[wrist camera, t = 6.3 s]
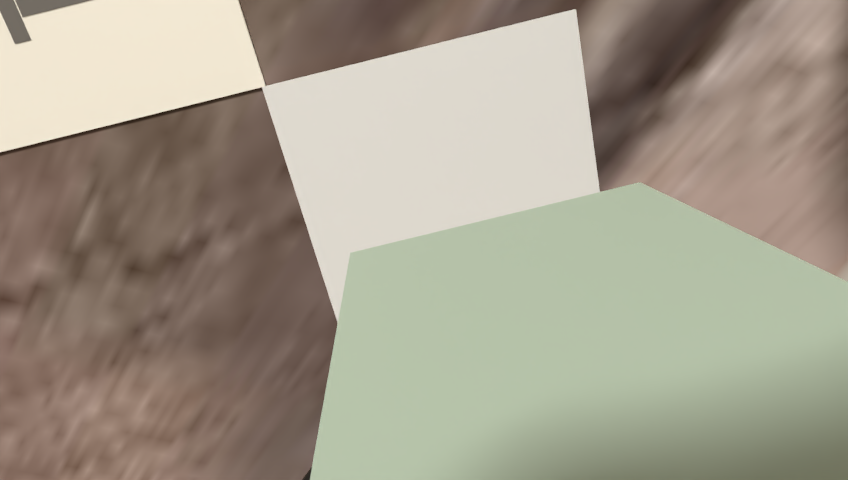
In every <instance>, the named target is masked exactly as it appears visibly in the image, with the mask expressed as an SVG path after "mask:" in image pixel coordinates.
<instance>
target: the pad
mask: <svg viewBox="0 0 848 480" xmlns="http://www.w3.org/2000/svg"><path fill="white" fill-rule="evenodd" d="M262 89H263V92H264V95H265V98H266V102H267V105H268V108H269V111H270V114H271V117H272V120H273V123H274V126H275V130H276V133H277V136H278V139H279V142H280V145H281V148H282V151H283V154H284V158H285V161H286V164H287V167H288V170H289V173H290V176H291V179H292V182H293V185H294V189H295V192H296V195H297V198H298V201H299V204H300V207H301V210H302V213H303V217H304V220H305V223H306V226H307V229H308V232H309V235H310V238H311V241H312V245H313V248H314V251H315V254H316V257H317V260H318V263H319V266H320V269H321V273H322V276H323V279H324V282H325V285H326V288H327V291H328V294H329V297H330V300H331V304H332V307H333V310H334V313H335V316H336V319H337V322H338V319H339V313H340V308H341V302H342V297H343V291H344V285H345V280H346V274H347V269H348V263H349V257H350V253H352V252H356V251H360V250H364V249H368V248H372V247H376V246H380V245H384V244H389V243H393V242H397V241H401V240H405V239H409V238H413V237H417V236H421V235H426V234H430V233H434V232H438V231H442V230H446V229H450V228H454V227H458V226H463V225H467V224H471V223H475V222H479V221H483V220H487V219H491V218H495V217H500V216H504V215H508V214H512V213H516V212H520V211H524V210H528V209H532V208H537V207H541V206H545V205H549V204H553V203H557V202H561V201H565V200H569V199H574V198H578V197H582V196H586V195H590V194H594V193H598V192H600V190H599V182H598V175H597V167H596V159H595V152H594V144H593V137H592V129H591V121H590V114H589V106H588V98H587V91H586V83H585V75H584V68H583V60H582V52H581V45H580V37H579V29H578V22H577V14H576V9H574V10H570V11H566V12H562V13H558V14H554V15H550V16H546V17H542V18H538V19H534V20H530V21H526V22H522V23H518V24H514V25H510V26H506V27H502V28H497V29H493V30H489V31H485V32H481V33H477V34H473V35H469V36H465V37H461V38H457V39H453V40H449V41H445V42H441V43H437V44H433V45H429V46H425V47H421V48H417V49H413V50H409V51H405V52H401V53H397V54H393V55H389V56H385V57H381V58H377V59H373V60H369V61H365V62H361V63H357V64H353V65H349V66H345V67H341V68H337V69H333V70H329V71H325V72H321V73H317V74H313V75H308V76H304V77H300V78H296V79H292V80H288V81H284V82H280V83H276V84H272V85H268V86H264V87H262Z"/></svg>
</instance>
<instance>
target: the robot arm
mask: <svg viewBox="0 0 848 480" xmlns="http://www.w3.org/2000/svg"><path fill="white" fill-rule="evenodd" d="M311 470H312V467H311V469H310V470H309V471H308V473H307V474H306V475H305V477H304V478H303V479H302V480H310V476H311Z"/></svg>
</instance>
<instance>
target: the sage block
mask: <svg viewBox="0 0 848 480" xmlns="http://www.w3.org/2000/svg"><path fill="white" fill-rule="evenodd" d="M310 480H848V282H847V281H845V280H843V279H841V278H839V277H837V276H835V275H832V274H830V273H828V272H826V271H824V270H822V269H820V268H818V267H816V266H814V265H812V264H810V263H807V262H805V261H803V260H801V259H799V258H797V257H795V256H793V255H791V254H789V253H787V252H784V251H782V250H780V249H778V248H776V247H774V246H772V245H770V244H768V243H766V242H764V241H761V240H759V239H757V238H755V237H753V236H751V235H749V234H747V233H745V232H743V231H741V230H738V229H736V228H734V227H732V226H730V225H728V224H726V223H724V222H722V221H720V220H718V219H716V218H713V217H711V216H709V215H707V214H705V213H703V212H701V211H699V210H697V209H695V208H693V207H690V206H688V205H686V204H684V203H682V202H680V201H678V200H676V199H674V198H672V197H670V196H667V195H665V194H663V193H661V192H659V191H657V190H655V189H653V188H651V187H649V186H647V185H645V184H642V183H640V182H639V183H635V184H631V185H627V186H623V187H619V188H615V189H611V190H606V191H602V192H598V193H594V194H590V195H586V196H582V197H578V198H574V199H569V200H565V201H561V202H557V203H553V204H549V205H545V206H541V207H537V208H532V209H528V210H524V211H520V212H516V213H512V214H508V215H504V216H500V217H495V218H491V219H487V220H483V221H479V222H475V223H471V224H467V225H463V226H458V227H454V228H450V229H446V230H442V231H438V232H434V233H430V234H426V235H421V236H417V237H413V238H409V239H405V240H401V241H397V242H393V243H389V244H384V245H380V246H376V247H372V248H368V249H364V250H360V251H356V252H352V253H350V257H349V263H348V269H347V274H346V280H345V285H344V291H343V297H342V302H341V308H340V313H339V319H338V325H337V330H336V336H335V341H334V347H333V353H332V358H331V364H330V369H329V375H328V381H327V386H326V392H325V397H324V403H323V409H322V414H321V420H320V425H319V431H318V437H317V442H316V448H315V453H314V459H313V465H312V470H311V476H310Z"/></svg>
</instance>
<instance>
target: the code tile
mask: <svg viewBox="0 0 848 480" xmlns="http://www.w3.org/2000/svg"><path fill="white" fill-rule="evenodd" d="M264 86H266V84H265V81H264V78H263V75H262V72H261V68H260V65H259V62H258V59H257V56H256V53H255V50H254V47H253V43H252V40H251V37H250V34H249V31H248V28H247V25H246V21H245V18H244V15H243V12H242V9H241V6H240V3H239V0H0V152H4V151H8V150H12V149H16V148H20V147H24V146H28V145H32V144H36V143H40V142H44V141H48V140H52V139H56V138H60V137H64V136H68V135H72V134H76V133H80V132H84V131H88V130H92V129H96V128H100V127H104V126H108V125H112V124H116V123H120V122H124V121H128V120H132V119H136V118H140V117H144V116H148V115H152V114H156V113H160V112H164V111H168V110H172V109H176V108H180V107H184V106H189V105H193V104H197V103H201V102H205V101H209V100H213V99H217V98H221V97H225V96H229V95H233V94H237V93H241V92H245V91H249V90H253V89H257V88H261V87H264Z"/></svg>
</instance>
